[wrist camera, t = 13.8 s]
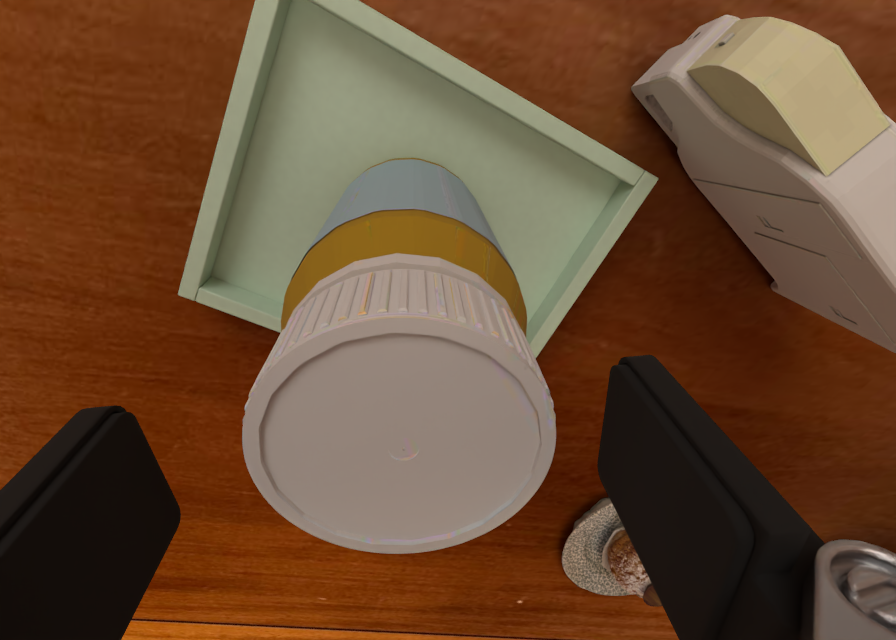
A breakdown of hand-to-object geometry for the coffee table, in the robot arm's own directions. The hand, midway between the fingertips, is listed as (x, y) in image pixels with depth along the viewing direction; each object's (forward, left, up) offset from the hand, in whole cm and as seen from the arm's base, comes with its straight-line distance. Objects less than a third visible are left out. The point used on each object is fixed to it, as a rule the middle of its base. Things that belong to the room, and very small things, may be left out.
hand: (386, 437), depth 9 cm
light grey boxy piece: (+13, +9, -16) cm, 23 cm away
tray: (0, 0, -15) cm, 15 cm away
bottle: (0, 0, -15) cm, 15 cm away
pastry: (+26, -15, -16) cm, 34 cm away
